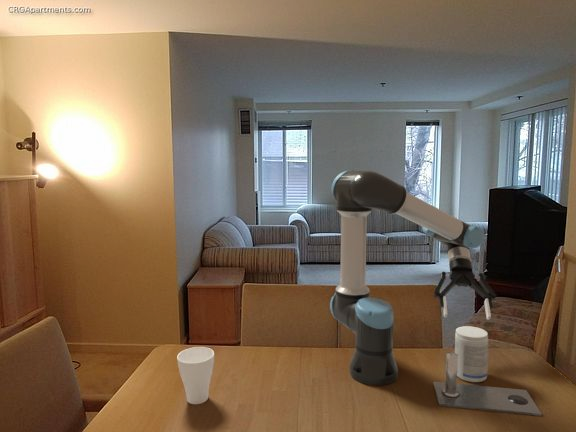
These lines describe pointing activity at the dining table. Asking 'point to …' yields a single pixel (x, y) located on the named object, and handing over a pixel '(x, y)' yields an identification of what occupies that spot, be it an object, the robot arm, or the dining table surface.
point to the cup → (196, 372)
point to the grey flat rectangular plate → (488, 399)
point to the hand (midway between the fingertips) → (467, 317)
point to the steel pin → (451, 375)
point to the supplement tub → (471, 353)
